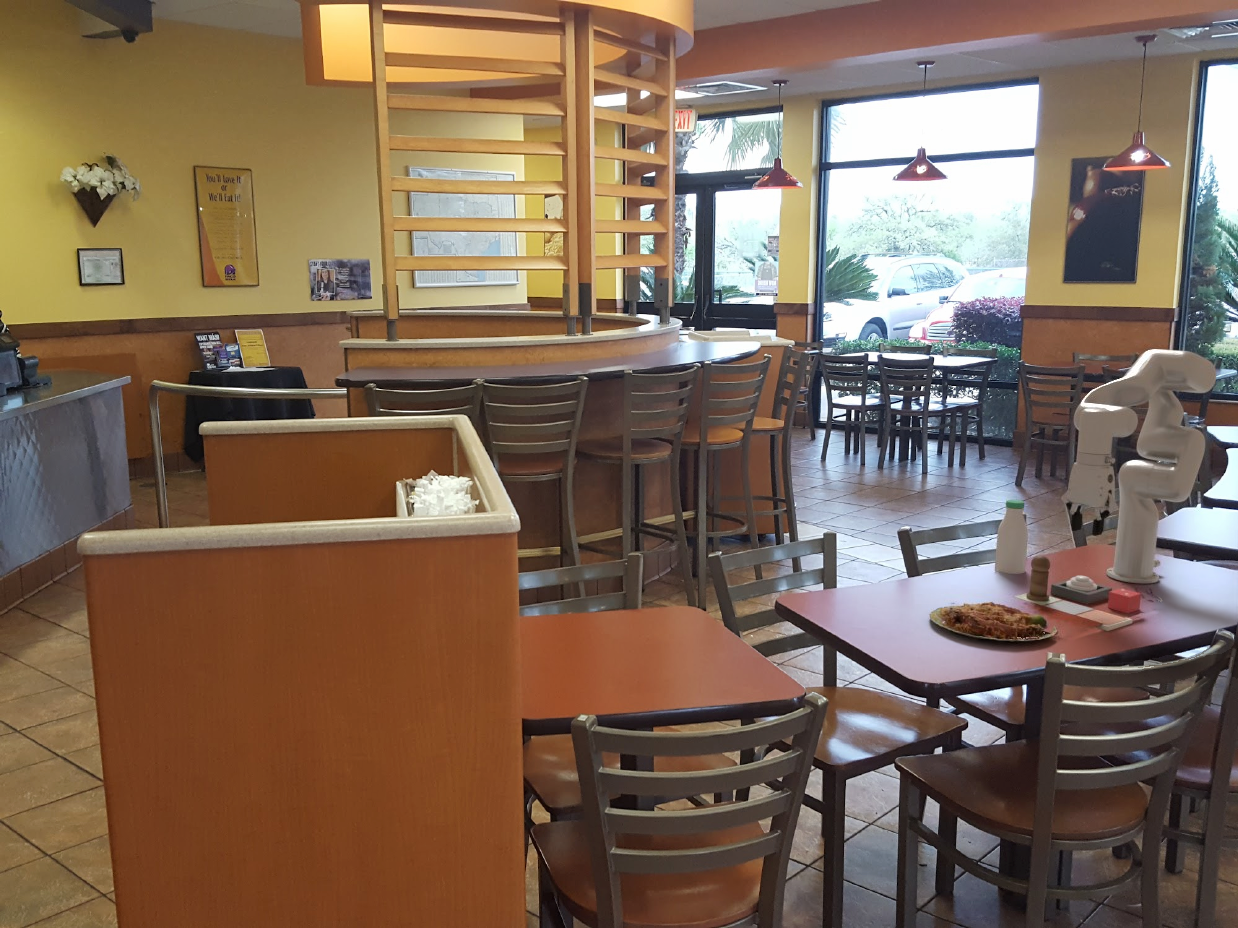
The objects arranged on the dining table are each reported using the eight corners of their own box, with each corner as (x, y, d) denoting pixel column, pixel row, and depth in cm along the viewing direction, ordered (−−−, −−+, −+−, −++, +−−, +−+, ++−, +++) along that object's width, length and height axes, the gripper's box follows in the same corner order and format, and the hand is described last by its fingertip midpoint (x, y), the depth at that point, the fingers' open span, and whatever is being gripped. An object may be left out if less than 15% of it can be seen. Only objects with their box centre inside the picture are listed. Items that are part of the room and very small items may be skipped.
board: (1033, 594, 267) (1033, 590, 267) (1132, 623, 246) (1132, 618, 246) (1008, 600, 262) (1009, 596, 261) (1107, 630, 240) (1107, 626, 240)
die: (1119, 608, 257) (1121, 587, 256) (1138, 613, 253) (1141, 592, 252) (1107, 611, 254) (1109, 590, 253) (1127, 617, 250) (1129, 595, 249)
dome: (1076, 582, 267) (1077, 571, 267) (1102, 589, 262) (1103, 578, 261) (1060, 587, 264) (1061, 576, 263) (1086, 594, 258) (1087, 583, 257)
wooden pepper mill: (1034, 593, 264) (1038, 551, 262) (1053, 599, 260) (1057, 556, 258) (1021, 597, 261) (1025, 554, 259) (1040, 602, 257) (1044, 559, 255)
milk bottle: (1029, 577, 282) (1035, 504, 278) (999, 577, 282) (1005, 504, 278) (1018, 569, 289) (1024, 498, 285) (990, 569, 289) (996, 497, 286)
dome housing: (1073, 591, 270) (1075, 578, 269) (1110, 601, 262) (1111, 588, 261) (1050, 597, 264) (1051, 584, 264) (1087, 608, 256) (1088, 594, 256)
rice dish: (952, 606, 262) (952, 584, 261) (1070, 623, 246) (1071, 601, 245) (911, 637, 239) (911, 613, 238) (1039, 658, 223) (1040, 633, 222)
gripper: (1135, 463, 252) (1128, 537, 255) (1070, 452, 266) (1064, 523, 269) (1117, 466, 248) (1110, 542, 251) (1052, 455, 262) (1046, 527, 265)
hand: (1086, 531), depth 260 cm, fingers open, 4 cm apart
